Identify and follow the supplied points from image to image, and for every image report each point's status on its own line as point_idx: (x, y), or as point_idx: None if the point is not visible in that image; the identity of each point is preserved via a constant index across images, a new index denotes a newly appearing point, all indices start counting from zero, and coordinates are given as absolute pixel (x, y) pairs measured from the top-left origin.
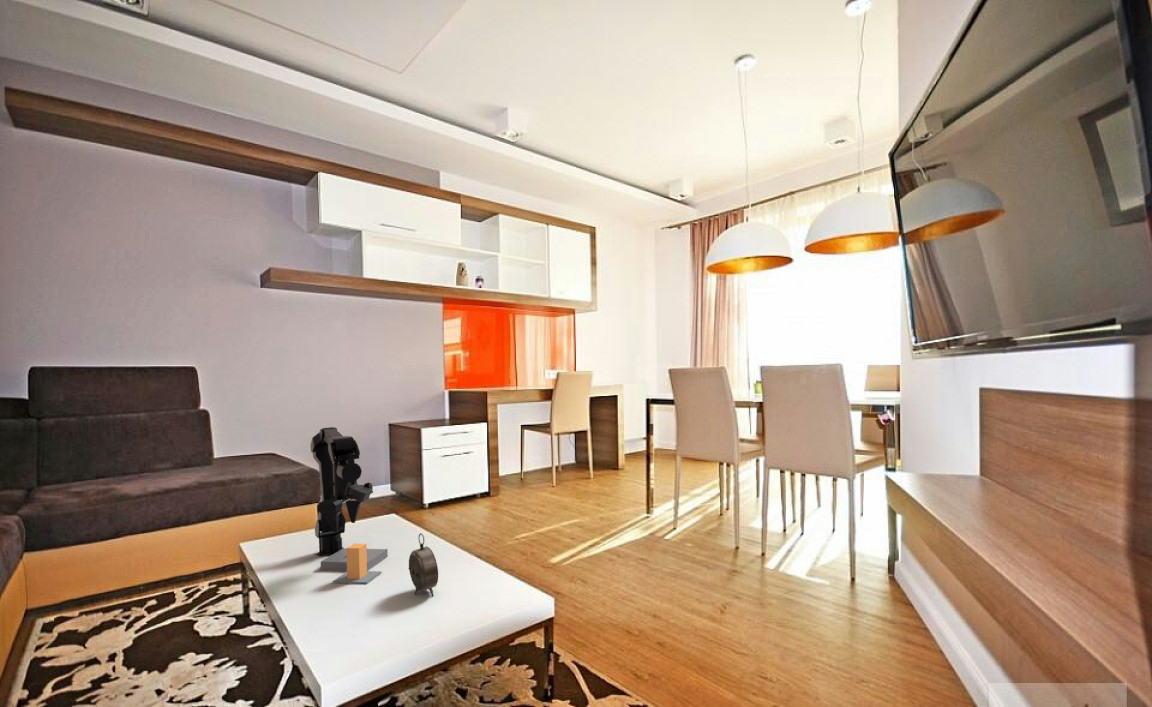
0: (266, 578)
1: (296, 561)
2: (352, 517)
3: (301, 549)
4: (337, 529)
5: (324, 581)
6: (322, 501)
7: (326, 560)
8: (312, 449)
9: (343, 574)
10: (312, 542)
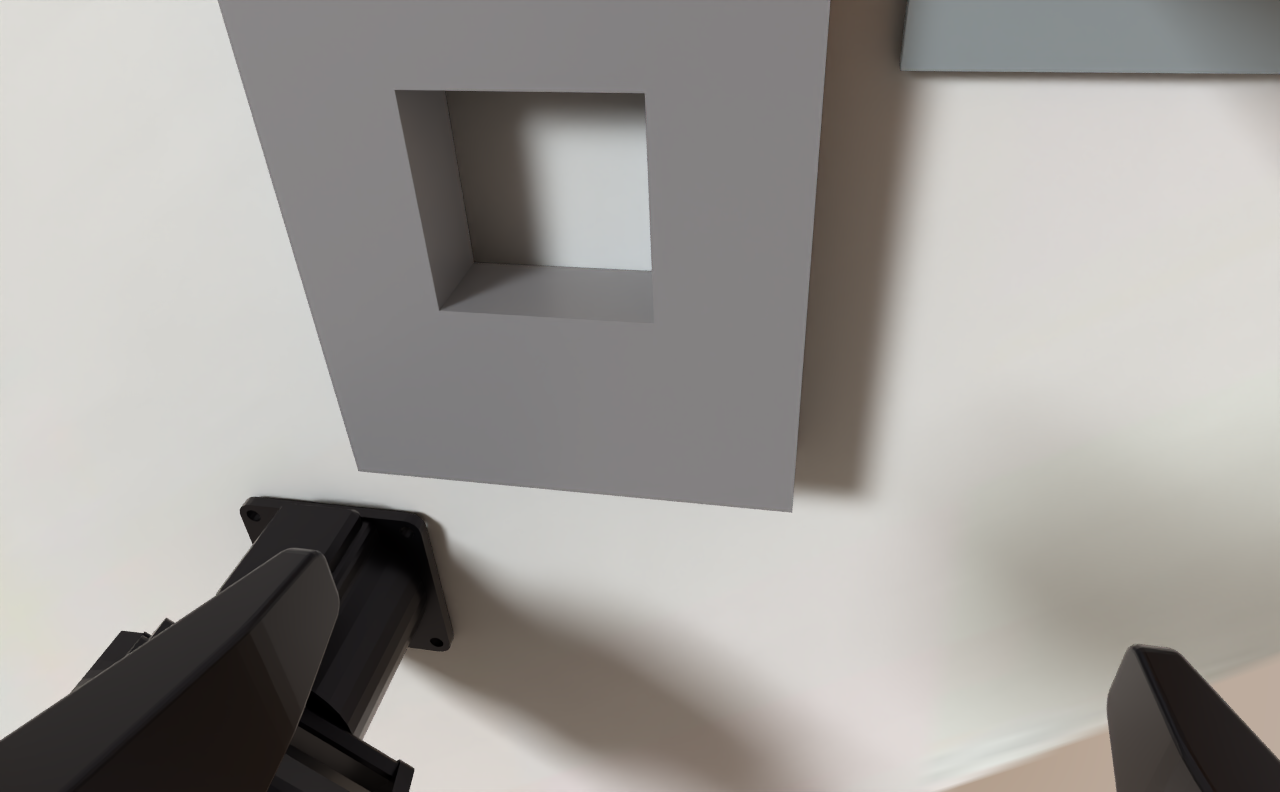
0: (994, 754)
1: (607, 709)
2: (254, 705)
3: None
4: (1189, 692)
5: (1217, 220)
6: None
7: (754, 468)
8: None
9: (1062, 55)
10: None
